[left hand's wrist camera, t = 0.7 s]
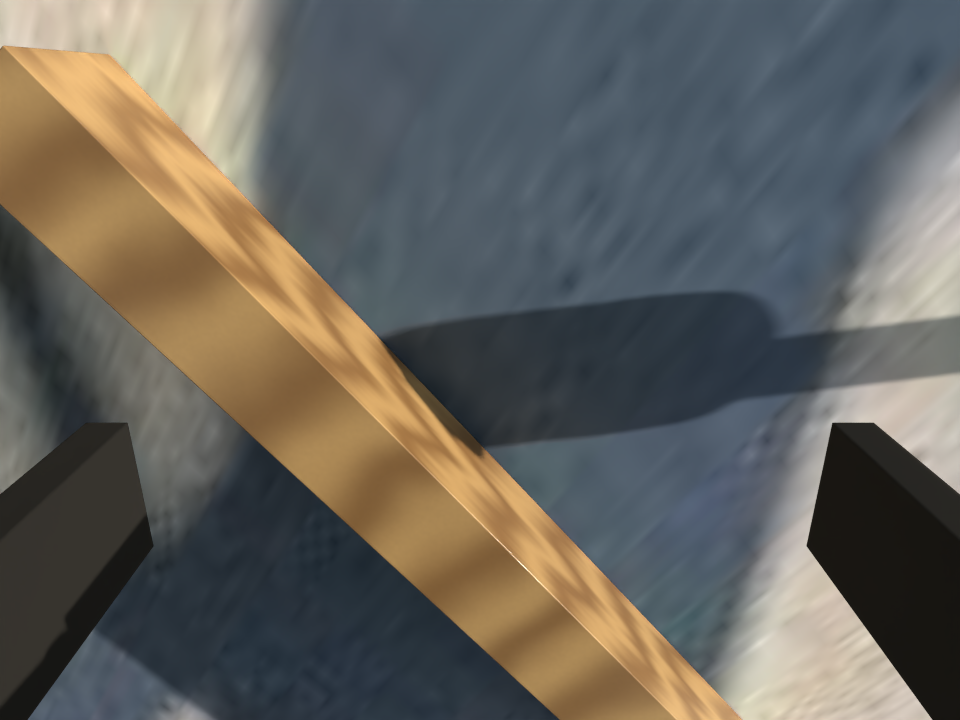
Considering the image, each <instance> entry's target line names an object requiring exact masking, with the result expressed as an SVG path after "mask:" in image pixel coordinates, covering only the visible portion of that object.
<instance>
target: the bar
mask: <svg viewBox="0 0 960 720" xmlns="http://www.w3.org/2000/svg"><path fill="white" fill-rule="evenodd" d="M0 205H1V206H3V207H4V208H5V209H6V210H7V211H8V212H9V213H10V214H11V215H12V216H13V217H15V218H16V219H17V220H18V221H19V222H20V223H21V224H22V225H23V226H24V227H25V228H26V229H28V230H29V231H30V232H31V233H32V234H33V235H34V236H35V237H36V238H37V239H38V240H39V241H41V242H42V243H43V244H44V245H45V246H46V247H47V248H48V249H49V250H50V251H51V252H53V253H54V254H55V255H56V256H57V257H58V258H59V259H60V260H61V261H62V262H63V263H64V264H66V265H67V266H68V267H69V268H70V269H71V270H72V271H73V272H74V273H75V274H76V275H77V276H79V277H80V278H81V279H82V280H83V281H84V282H85V283H86V284H87V285H88V286H89V287H90V288H92V289H93V290H94V291H95V292H96V293H97V294H98V295H99V296H100V297H101V298H102V299H104V300H105V301H106V302H107V303H108V304H109V305H110V306H111V307H112V308H113V309H114V310H115V311H117V312H118V313H119V314H120V315H121V316H122V317H123V318H124V319H125V320H126V321H127V322H128V323H130V324H131V325H132V326H133V327H134V328H135V329H136V330H137V331H138V332H139V333H140V334H142V335H143V336H144V337H145V338H146V339H147V340H148V341H149V342H150V343H151V344H152V345H153V346H155V347H156V348H157V349H158V350H159V351H160V352H161V353H162V354H163V355H164V356H165V357H166V358H168V359H169V360H170V361H171V362H172V363H173V364H174V365H175V366H176V367H177V368H178V369H180V370H181V371H182V372H183V373H184V374H185V375H186V376H187V377H188V378H189V379H190V380H191V381H193V382H194V383H195V384H196V385H197V386H198V387H199V388H200V389H201V390H202V391H203V392H204V393H206V394H207V395H208V396H209V397H210V398H211V399H212V400H213V401H214V402H215V403H216V404H217V405H219V406H220V407H221V408H222V409H223V410H224V411H225V412H226V413H227V414H228V415H229V416H231V417H232V418H233V419H234V420H235V421H236V422H237V423H238V424H239V425H240V426H241V427H242V428H244V429H245V430H246V431H247V432H248V433H249V434H250V435H251V436H252V437H253V438H254V439H255V440H257V441H258V442H259V443H260V444H261V445H262V446H263V447H264V448H265V449H266V450H267V451H269V452H270V453H271V454H272V455H273V456H274V457H275V458H276V459H277V460H278V461H279V462H280V463H282V464H283V465H284V466H285V467H286V468H287V469H288V470H289V471H290V472H291V473H292V474H293V475H295V476H296V477H297V478H298V479H299V480H300V481H301V482H302V483H303V484H304V485H305V486H307V487H308V488H309V489H310V490H311V491H312V492H313V493H314V494H315V495H316V496H317V497H318V498H320V499H321V500H322V501H323V502H324V503H325V504H326V505H327V506H328V507H329V508H330V509H331V510H333V511H334V512H335V513H336V514H337V515H338V516H339V517H340V518H341V519H342V520H343V521H344V522H346V523H347V524H348V525H349V526H350V527H351V528H352V529H353V530H354V531H355V532H356V533H358V534H359V535H360V536H361V537H362V538H363V539H364V540H365V541H366V542H367V543H368V544H369V545H371V546H372V547H373V548H374V549H375V550H376V551H377V552H378V553H379V554H380V555H381V556H382V557H384V558H385V559H386V560H387V561H388V562H389V563H390V564H391V565H392V566H393V567H394V568H396V569H397V570H398V571H399V572H400V573H401V574H402V575H403V576H404V577H405V578H406V579H407V580H409V581H410V582H411V583H412V584H413V585H414V586H415V587H416V588H417V589H418V590H419V591H420V592H422V593H423V594H424V595H425V596H426V597H427V598H428V599H429V600H430V601H431V602H432V603H433V604H435V605H436V606H437V607H438V608H439V609H440V610H441V611H442V612H443V613H444V614H445V615H447V616H448V617H449V618H450V619H451V620H452V621H453V622H454V623H455V624H456V625H457V626H458V627H460V628H461V629H462V630H463V631H464V632H465V633H466V634H467V635H468V636H469V637H470V638H471V639H473V640H474V641H475V642H476V643H477V644H478V645H479V646H480V647H481V648H482V649H483V650H485V651H486V652H487V653H488V654H489V655H490V656H491V657H492V658H493V659H494V660H495V661H496V662H498V663H499V664H500V665H501V666H502V667H503V668H504V669H505V670H506V671H507V672H508V673H509V674H511V675H512V676H513V677H514V678H515V679H516V680H517V681H518V682H519V683H520V684H521V685H523V686H524V687H525V688H526V689H527V690H528V691H529V692H530V693H531V694H532V695H533V696H534V697H536V698H537V699H538V700H539V701H540V702H541V703H542V704H543V705H544V706H545V707H546V708H547V709H549V710H550V711H551V712H552V713H553V714H554V715H555V716H556V717H557V718H558V719H559V720H742V719H741V718H740V717H739V716H738V715H737V714H736V713H735V712H734V711H733V710H732V709H731V708H730V707H729V705H728V704H727V703H726V702H725V701H724V700H723V699H722V698H721V697H720V696H719V695H718V694H717V693H716V692H715V691H714V690H713V689H712V688H711V687H710V685H709V684H708V683H707V682H706V681H705V680H704V679H703V678H702V677H701V676H700V675H699V674H698V673H697V672H696V671H695V670H694V669H693V668H692V667H691V666H690V664H689V663H688V662H687V661H686V660H685V659H684V658H683V657H682V656H681V655H680V654H679V653H678V652H677V651H676V650H675V649H674V648H673V647H672V646H671V645H670V643H669V642H668V641H667V640H666V639H665V638H664V637H663V636H662V635H661V634H660V633H659V632H658V631H657V630H656V629H655V628H654V627H653V626H652V625H651V623H650V622H649V621H648V620H647V619H646V618H645V617H644V616H643V615H642V614H641V613H640V612H639V611H638V610H637V609H636V608H635V607H634V606H633V605H632V604H631V602H630V601H629V600H628V599H627V598H626V597H625V596H624V595H623V594H622V593H621V592H620V591H619V590H618V589H617V588H616V587H615V586H614V585H613V584H612V583H611V581H610V580H609V579H608V578H607V577H606V576H605V575H604V574H603V573H602V572H601V571H600V570H599V569H598V568H597V567H596V566H595V565H594V564H593V563H592V561H591V560H590V559H589V558H588V557H587V556H586V555H585V554H584V553H583V552H582V551H581V550H580V549H579V548H578V547H577V546H576V545H575V544H574V543H573V542H572V540H571V539H570V538H569V537H568V536H567V535H566V534H565V533H564V532H563V531H562V530H561V529H560V528H559V527H558V526H557V525H556V524H555V523H554V522H553V521H552V519H551V518H550V517H549V516H548V515H547V514H546V513H545V512H544V511H543V510H542V509H541V508H540V507H539V506H538V505H537V504H536V503H535V502H534V501H533V499H532V498H531V497H530V496H529V495H528V494H527V493H526V492H525V491H524V490H523V489H522V488H521V487H520V486H519V485H518V484H517V483H516V482H515V481H514V480H513V478H512V477H511V476H510V475H509V474H508V473H507V472H506V471H505V470H504V469H503V468H502V467H501V466H500V465H499V464H498V463H497V462H496V461H495V460H494V459H493V457H492V456H491V455H490V454H489V453H488V452H487V451H486V450H485V449H484V448H483V447H482V446H481V445H480V444H479V443H478V442H477V441H476V440H475V439H474V437H473V436H472V435H471V434H470V433H469V432H468V431H467V430H466V429H465V428H464V427H463V426H462V425H461V424H460V423H459V422H458V421H457V420H456V419H455V418H454V416H453V415H452V414H451V413H450V412H449V411H448V410H447V409H446V408H445V407H444V406H443V405H442V404H441V403H440V402H439V401H438V400H437V399H436V398H435V397H434V395H433V394H432V393H431V392H430V391H429V390H428V389H427V388H426V387H425V386H424V385H423V384H422V383H421V382H420V381H419V380H418V379H417V378H416V377H415V375H414V374H413V373H412V372H411V371H410V370H409V369H408V368H407V367H406V366H405V365H404V364H403V363H402V362H401V361H400V360H399V359H398V358H397V357H396V356H395V354H394V353H393V352H392V351H391V350H390V349H389V348H388V347H387V346H386V345H385V344H384V343H383V342H382V341H381V340H380V339H379V338H378V337H377V336H376V335H375V333H374V332H373V331H372V330H371V329H370V328H369V327H368V326H367V325H366V324H365V323H364V322H363V321H362V320H361V319H360V318H359V317H358V316H357V315H356V313H355V312H354V311H353V310H352V309H351V308H350V307H349V306H348V305H347V304H346V303H345V302H344V301H343V300H342V299H341V298H340V297H339V296H338V295H337V294H336V292H335V291H334V290H333V289H332V288H331V287H330V286H329V285H328V284H327V283H326V282H325V281H324V280H323V279H322V278H321V277H320V276H319V275H318V274H317V273H316V271H315V270H314V269H313V268H312V267H311V266H310V265H309V264H308V263H307V262H306V261H305V260H304V259H303V258H302V257H301V256H300V255H299V254H298V253H297V251H296V250H295V249H294V248H293V247H292V246H291V245H290V244H289V243H288V242H287V241H286V240H285V239H284V238H283V237H282V236H281V235H280V234H279V233H278V232H277V230H276V229H275V228H274V227H273V226H272V225H271V224H270V223H269V222H268V221H267V220H266V219H265V218H264V217H263V216H262V215H261V214H260V213H259V212H258V211H257V209H256V208H255V207H254V206H253V205H252V204H251V203H250V202H249V201H248V200H247V199H246V198H245V197H244V196H243V195H242V194H241V193H240V192H239V191H238V190H237V188H236V187H235V186H234V185H233V184H232V183H231V182H230V181H229V180H228V179H227V178H226V177H225V176H224V175H223V174H222V173H221V172H220V171H219V170H218V168H217V167H216V166H215V165H214V164H213V163H212V162H211V161H210V160H209V159H208V158H207V157H206V156H205V155H204V154H203V153H202V152H201V151H200V150H199V149H198V147H197V146H196V145H195V144H194V143H193V142H192V141H191V140H190V139H189V138H188V137H187V136H186V135H185V134H184V133H183V132H182V131H181V130H180V129H179V128H178V126H177V125H176V124H175V123H174V122H173V121H172V120H171V119H170V118H169V117H168V116H167V115H166V114H165V113H164V112H163V111H162V110H161V109H160V108H159V106H158V105H157V104H156V103H155V102H154V101H153V100H152V99H151V98H150V97H149V96H148V95H147V94H146V93H145V92H144V91H143V90H142V89H141V88H140V87H139V85H138V84H137V83H136V82H135V81H134V80H133V79H132V78H131V77H130V76H129V75H128V74H127V73H126V72H125V71H124V70H123V69H122V68H121V67H120V66H119V64H118V63H117V62H116V61H115V60H114V59H113V58H112V57H111V56H110V55H108V54H96V53H85V52H73V51H61V50H49V49H37V48H25V47H13V46H2V48H1V49H0Z"/></svg>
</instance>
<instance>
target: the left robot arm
mask: <svg viewBox="0 0 960 720" xmlns="http://www.w3.org/2000/svg"><path fill="white" fill-rule="evenodd" d="M152 547H153V542H152V537H151V532H150V527H149V523H148V518H147V513H146V508H145V504H144V499H143V494H142V489H141V485H140V480H139V475H138V470H137V466H136V461H135V456H134V451H133V447H132V442H131V437H130V432H129V428H128V423H86V424H84V425H83V426H82V427H81V428H80V429H78V430H77V431H76V432H75V433H74V434H72V435H71V436H70V437H69V438H68V439H66V440H65V441H64V442H63V443H61V444H60V445H59V446H58V447H57V448H55V449H54V450H53V451H52V452H51V453H49V454H48V455H47V456H46V457H45V458H43V459H42V460H41V461H40V462H39V463H37V464H36V465H35V466H34V467H33V468H31V469H30V470H29V471H28V472H27V473H25V474H24V475H23V476H22V477H21V478H19V479H18V480H17V481H16V482H15V483H13V484H12V485H11V486H10V487H9V488H7V489H6V490H5V491H4V492H3V493H1V494H0V720H28V718H29V717H30V716H31V714H32V713H33V711H34V710H35V709H36V707H37V706H38V705H39V703H40V702H41V700H42V699H43V698H44V696H45V695H46V694H47V692H48V691H49V689H50V688H51V687H52V685H53V684H54V682H55V681H56V680H57V678H58V677H59V676H60V674H61V673H62V671H63V670H64V669H65V667H66V666H67V665H68V663H69V662H70V660H71V659H72V658H73V656H74V655H75V654H76V652H77V651H78V649H79V648H80V647H81V645H82V644H83V642H84V641H85V640H86V638H87V637H88V636H89V634H90V633H91V631H92V630H93V629H94V627H95V626H96V625H97V623H98V622H99V620H100V619H101V618H102V616H103V615H104V613H105V612H106V611H107V609H108V608H109V607H110V605H111V604H112V602H113V601H114V600H115V598H116V597H117V596H118V594H119V593H120V591H121V590H122V589H123V587H124V586H125V585H126V583H127V582H128V580H129V579H130V578H131V576H132V575H133V573H134V572H135V571H136V569H137V568H138V567H139V565H140V564H141V562H142V561H143V560H144V558H145V557H146V556H147V554H148V553H149V551H150V550H151V549H152ZM807 547H808V549H809V550H810V551H811V553H812V554H813V556H814V557H815V558H816V560H817V561H818V562H819V564H820V565H821V567H822V568H823V569H824V571H825V572H826V573H827V575H828V576H829V578H830V579H831V580H832V582H833V583H834V585H835V586H836V587H837V589H838V590H839V591H840V593H841V594H842V596H843V597H844V598H845V600H846V601H847V602H848V604H849V605H850V607H851V608H852V609H853V611H854V612H855V613H856V615H857V616H858V618H859V619H860V620H861V622H862V623H863V625H864V626H865V627H866V629H867V630H868V631H869V633H870V634H871V636H872V637H873V638H874V640H875V641H876V642H877V644H878V645H879V647H880V648H881V649H882V651H883V652H884V654H885V655H886V656H887V658H888V659H889V660H890V662H891V663H892V665H893V666H894V667H895V669H896V670H897V671H898V673H899V674H900V676H901V677H902V678H903V680H904V681H905V682H906V684H907V685H908V687H909V688H910V689H911V691H912V692H913V694H914V695H915V696H916V698H917V699H918V700H919V702H920V703H921V705H922V706H923V707H924V709H925V710H926V711H927V713H928V714H929V716H930V717H931V718H932V720H960V494H959V493H957V492H956V491H955V490H954V489H953V488H951V487H950V486H949V485H948V484H947V483H945V482H944V481H943V480H942V479H941V478H939V477H938V476H937V475H936V474H935V473H933V472H932V471H931V470H930V469H929V468H927V467H926V466H925V465H924V464H923V463H921V462H920V461H919V460H918V459H917V458H915V457H914V456H913V455H912V454H911V453H909V452H908V451H907V450H906V449H905V448H903V447H902V446H901V445H900V444H899V443H897V442H896V441H895V440H894V439H892V438H891V437H890V436H889V435H888V434H886V433H885V432H884V431H883V430H882V429H880V428H879V427H878V426H877V425H876V424H874V423H832V427H831V432H830V437H829V442H828V447H827V451H826V456H825V461H824V466H823V470H822V475H821V480H820V485H819V489H818V494H817V499H816V504H815V508H814V513H813V518H812V523H811V527H810V532H809V537H808V542H807Z"/></svg>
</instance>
